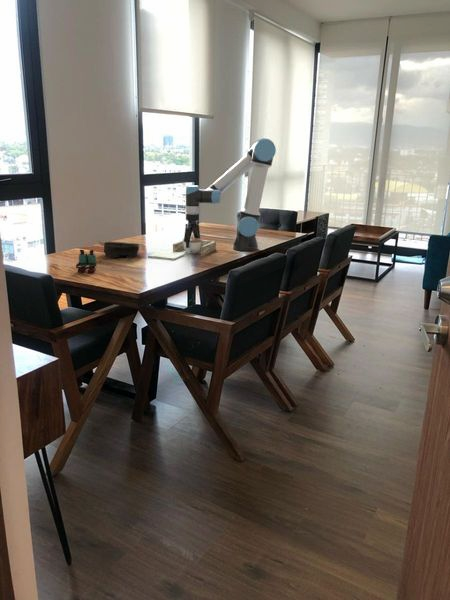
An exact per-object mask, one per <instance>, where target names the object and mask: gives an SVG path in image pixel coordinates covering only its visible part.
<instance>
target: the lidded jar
mask: <svg viewBox="0 0 450 600" xmlns="http://www.w3.org/2000/svg"><path fill="white" fill-rule="evenodd" d="M182 240H183V246H184V249H183V250H185V251H186V242H184V238H183V239H182ZM201 240H202V238H201V237H200V238H194V235H191V239H190V242H191V253H190V254H197V253H199V251H201V249H200V248H201Z"/></svg>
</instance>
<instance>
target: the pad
mask: <svg viewBox="0 0 450 600" xmlns="http://www.w3.org/2000/svg"><path fill="white" fill-rule="evenodd" d="M184 256H187V253H186V252H182V251H178V252H173V251H170V250H159V251H157V252H153V253H151V254H148V255H147V258H151V259H159V260H168V261H176V260H178V259H180V258H183V257H184Z"/></svg>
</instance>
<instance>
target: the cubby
mask: <svg viewBox="0 0 450 600" xmlns="http://www.w3.org/2000/svg"><path fill="white" fill-rule="evenodd" d="M216 244H217V241H214V240H205V239H201V248H200V256H201V257H202V256H206V255H208V254H210V253H212V252H214V251H216V250H217V249H216V246H217V245H216ZM183 250H185V249H184V246H183V239H182V240H179V241H178V242H175V243H172V252H182V251H183Z"/></svg>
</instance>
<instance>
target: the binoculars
mask: <svg viewBox="0 0 450 600" xmlns="http://www.w3.org/2000/svg"><path fill="white" fill-rule="evenodd" d="M79 252H80V253H79V254H78V262H77V263H76V264H75V268H76V269H77V274H84V273H85V272H87V273H88V274H93V273H95V271H97V269H96V267H97V266H98V265H97V258H96V254H95V253H94V252H95V250H94V249H90V250H89V251H88V252H89V253H85V249H79Z"/></svg>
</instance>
